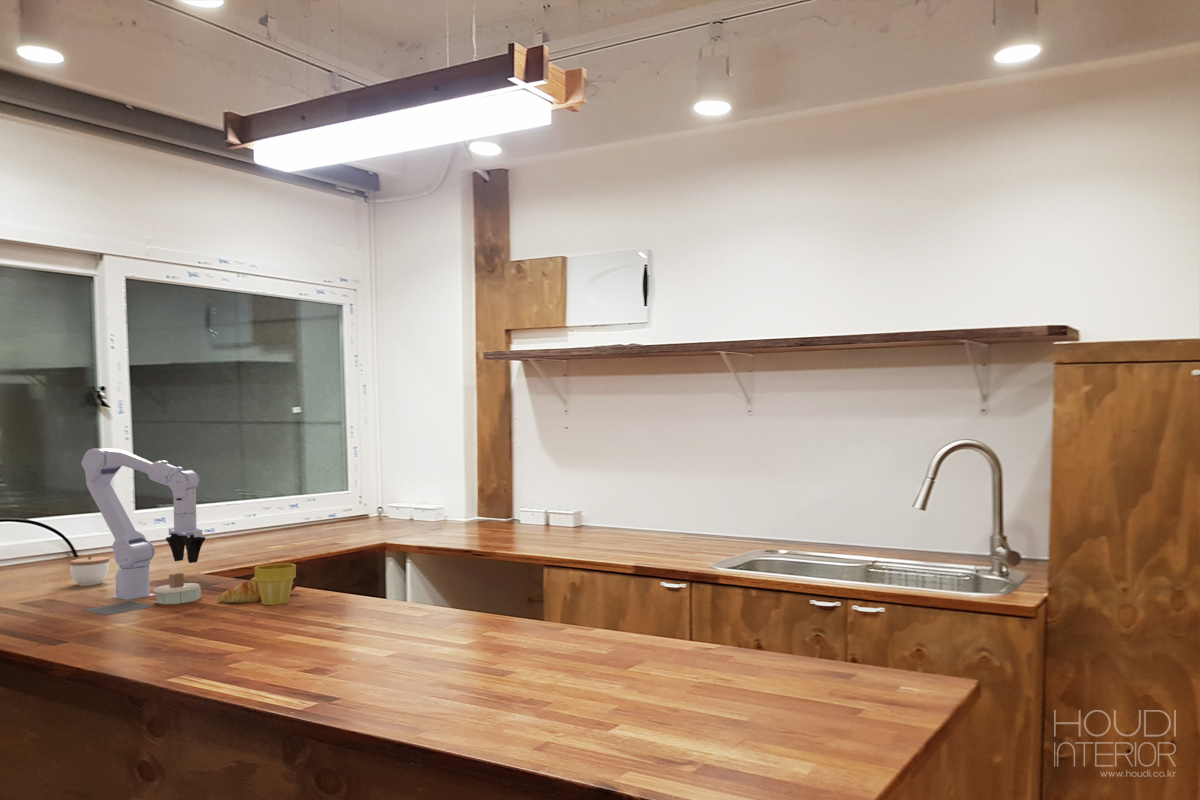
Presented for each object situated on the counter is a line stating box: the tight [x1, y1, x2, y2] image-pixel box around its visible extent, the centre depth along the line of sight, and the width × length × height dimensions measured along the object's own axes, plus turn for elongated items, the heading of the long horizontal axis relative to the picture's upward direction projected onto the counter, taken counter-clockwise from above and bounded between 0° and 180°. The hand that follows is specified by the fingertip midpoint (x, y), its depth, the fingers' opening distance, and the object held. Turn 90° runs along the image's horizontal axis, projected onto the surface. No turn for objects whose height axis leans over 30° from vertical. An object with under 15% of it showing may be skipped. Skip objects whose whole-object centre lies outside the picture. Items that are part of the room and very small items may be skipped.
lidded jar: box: [69, 553, 110, 587], centre depth 269 cm, size 11×11×9 cm
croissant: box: [216, 576, 297, 604], centre depth 233 cm, size 21×10×8 cm, turn 132°
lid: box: [153, 572, 200, 595], centre depth 232 cm, size 11×11×4 cm
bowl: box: [156, 586, 202, 605], centre depth 232 cm, size 10×10×4 cm
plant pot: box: [254, 562, 297, 606], centre depth 227 cm, size 10×10×10 cm
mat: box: [82, 601, 155, 616], centre depth 223 cm, size 14×12×1 cm
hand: (185, 561), depth 240 cm, fingers open, 7 cm apart
